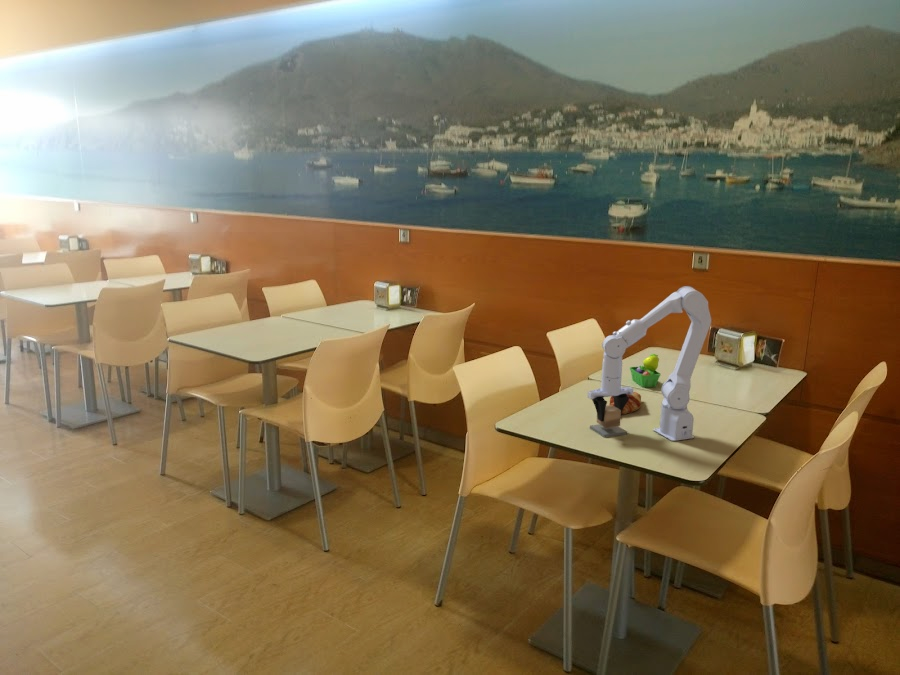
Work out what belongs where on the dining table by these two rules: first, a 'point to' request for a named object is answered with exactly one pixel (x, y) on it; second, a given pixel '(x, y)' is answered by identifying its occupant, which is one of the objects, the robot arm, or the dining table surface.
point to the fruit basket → (646, 372)
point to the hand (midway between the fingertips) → (608, 419)
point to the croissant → (630, 403)
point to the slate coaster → (608, 430)
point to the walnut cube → (610, 417)
